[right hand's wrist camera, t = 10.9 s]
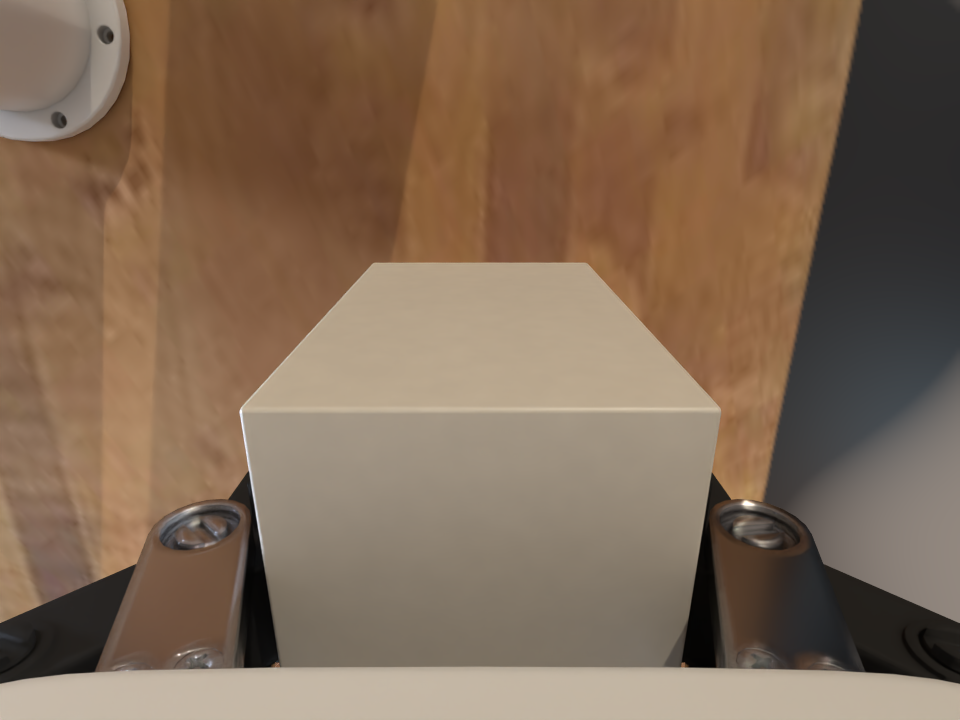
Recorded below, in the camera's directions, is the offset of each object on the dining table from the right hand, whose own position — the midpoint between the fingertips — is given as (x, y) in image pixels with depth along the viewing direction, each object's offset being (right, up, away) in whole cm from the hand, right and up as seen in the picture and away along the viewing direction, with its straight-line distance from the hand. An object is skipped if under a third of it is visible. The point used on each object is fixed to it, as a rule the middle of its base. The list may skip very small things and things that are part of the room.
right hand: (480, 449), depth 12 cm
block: (0, +1, +3) cm, 3 cm away
